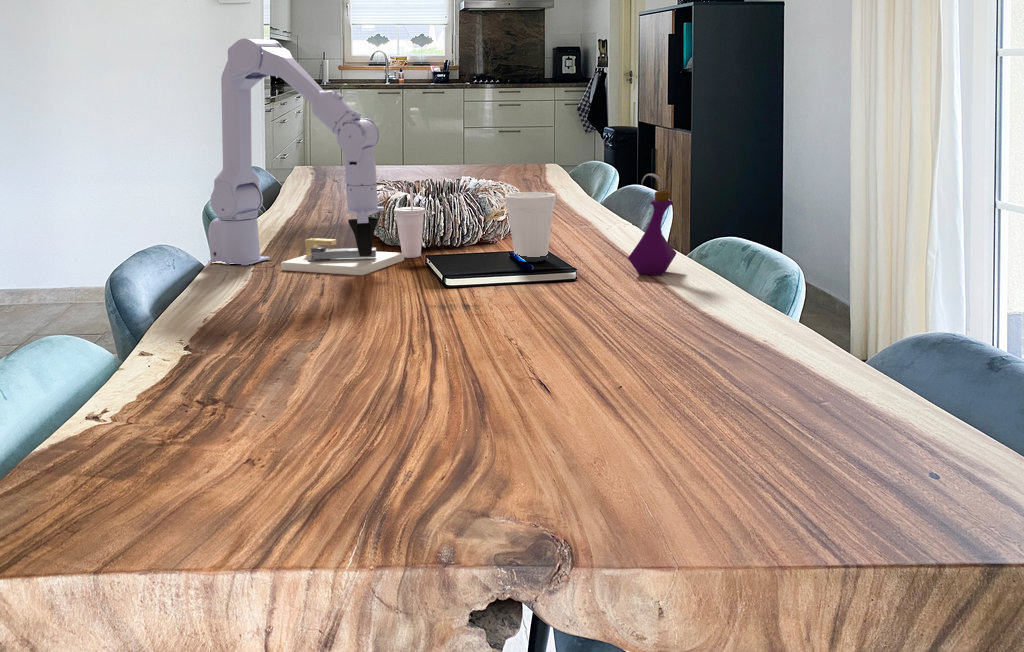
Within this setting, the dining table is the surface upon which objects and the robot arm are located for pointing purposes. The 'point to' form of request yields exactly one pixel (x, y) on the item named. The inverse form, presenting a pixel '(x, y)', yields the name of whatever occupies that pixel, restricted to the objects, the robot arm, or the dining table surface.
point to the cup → (530, 221)
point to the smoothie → (410, 228)
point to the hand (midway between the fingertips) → (365, 255)
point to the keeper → (317, 243)
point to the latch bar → (338, 253)
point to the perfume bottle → (654, 239)
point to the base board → (343, 264)
